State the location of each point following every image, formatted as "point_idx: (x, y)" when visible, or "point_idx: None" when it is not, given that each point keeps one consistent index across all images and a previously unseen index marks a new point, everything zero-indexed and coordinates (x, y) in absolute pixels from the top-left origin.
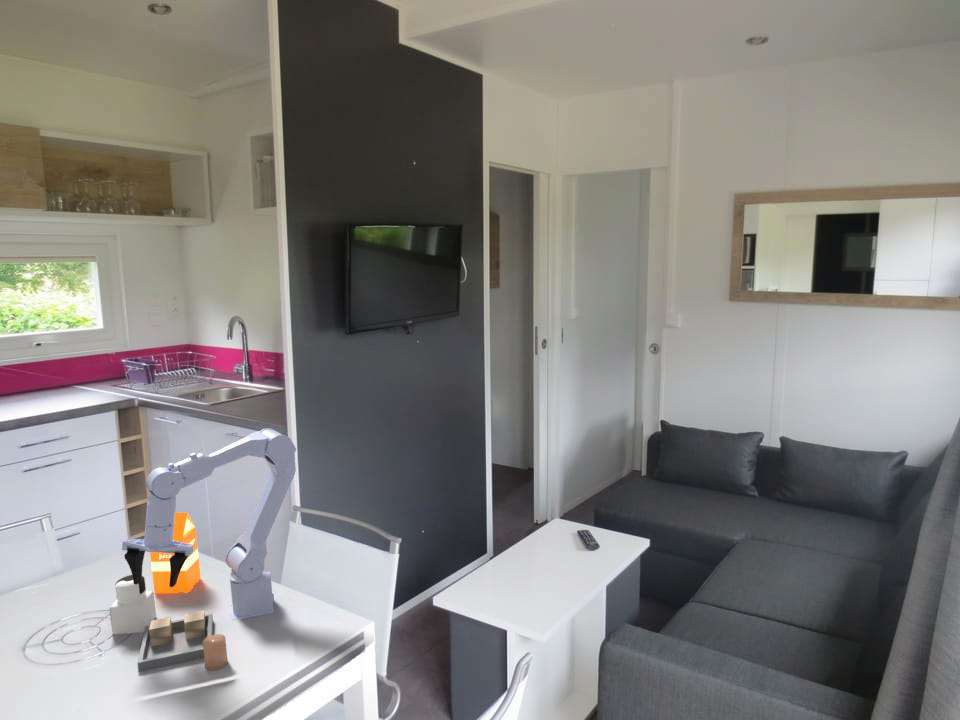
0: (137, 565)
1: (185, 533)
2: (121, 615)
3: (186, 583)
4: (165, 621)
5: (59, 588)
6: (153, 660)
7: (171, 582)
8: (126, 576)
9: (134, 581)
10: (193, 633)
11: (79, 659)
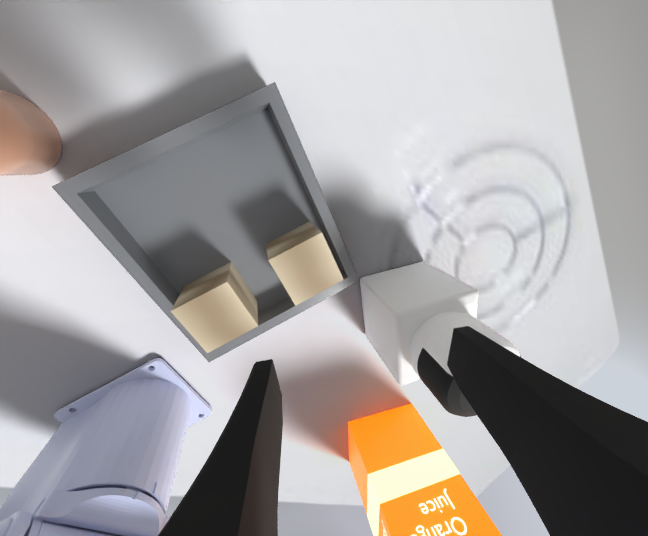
0: (558, 441)
1: None
2: (434, 286)
3: (357, 441)
4: (296, 280)
5: (562, 376)
6: (230, 103)
7: (254, 383)
8: None
9: (477, 334)
10: (210, 276)
11: (455, 167)
